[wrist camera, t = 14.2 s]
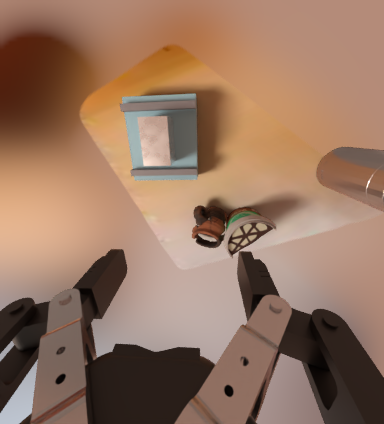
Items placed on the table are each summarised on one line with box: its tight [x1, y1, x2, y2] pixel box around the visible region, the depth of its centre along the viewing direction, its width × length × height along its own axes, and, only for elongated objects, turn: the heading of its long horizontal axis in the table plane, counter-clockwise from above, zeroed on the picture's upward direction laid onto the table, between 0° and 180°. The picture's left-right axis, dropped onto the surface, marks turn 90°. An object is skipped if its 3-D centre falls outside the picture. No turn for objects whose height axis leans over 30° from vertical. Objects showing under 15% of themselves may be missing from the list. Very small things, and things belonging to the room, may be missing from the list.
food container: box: [224, 207, 276, 258], centre depth 43 cm, size 12×6×10 cm, turn 132°
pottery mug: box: [192, 206, 228, 248], centre depth 47 cm, size 12×10×8 cm
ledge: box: [120, 93, 198, 180], centre depth 39 cm, size 14×16×6 cm
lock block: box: [137, 116, 176, 166], centre depth 34 cm, size 5×8×6 cm, turn 2°
